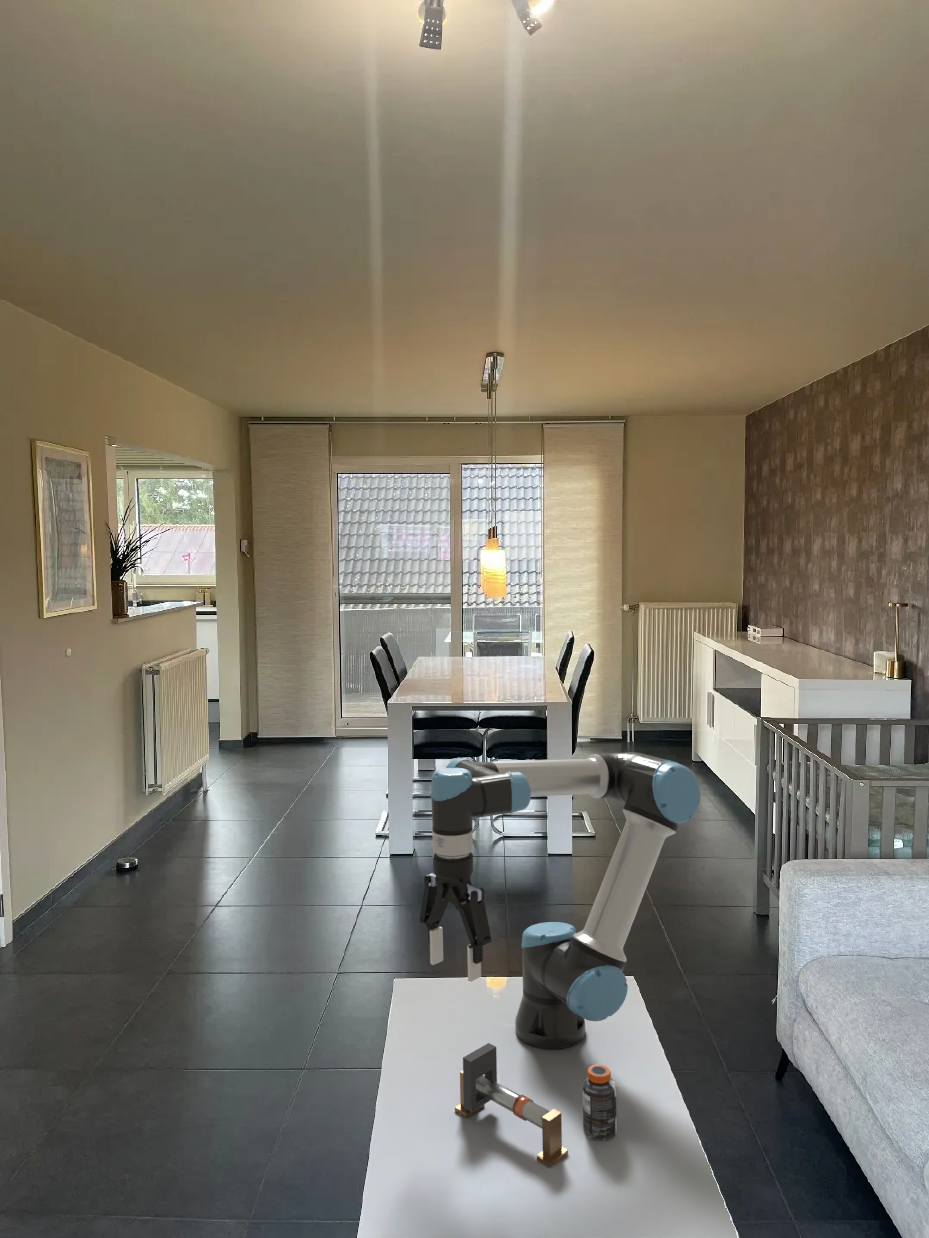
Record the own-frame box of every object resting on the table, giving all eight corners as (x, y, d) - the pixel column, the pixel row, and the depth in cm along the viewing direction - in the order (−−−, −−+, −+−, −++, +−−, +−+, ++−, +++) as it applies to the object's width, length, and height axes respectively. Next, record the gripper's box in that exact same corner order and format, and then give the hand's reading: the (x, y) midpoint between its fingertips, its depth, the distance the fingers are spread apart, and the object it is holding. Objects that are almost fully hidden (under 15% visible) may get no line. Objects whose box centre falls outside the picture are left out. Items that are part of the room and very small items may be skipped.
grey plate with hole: (463, 1107, 160) (462, 1057, 160) (489, 1091, 165) (488, 1042, 164) (471, 1112, 159) (470, 1061, 158) (497, 1095, 164) (496, 1046, 163)
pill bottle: (621, 1126, 158) (621, 1065, 157) (609, 1145, 153) (609, 1082, 152) (590, 1116, 161) (590, 1056, 160) (578, 1135, 156) (577, 1073, 155)
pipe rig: (454, 1110, 163) (454, 1070, 163) (472, 1099, 167) (472, 1060, 166) (550, 1167, 147) (549, 1123, 147) (568, 1154, 151) (567, 1110, 150)
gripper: (398, 845, 169) (401, 959, 170) (481, 871, 153) (484, 996, 154) (427, 836, 174) (430, 946, 175) (510, 860, 158) (512, 981, 160)
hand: (455, 970), depth 165 cm, fingers open, 9 cm apart
